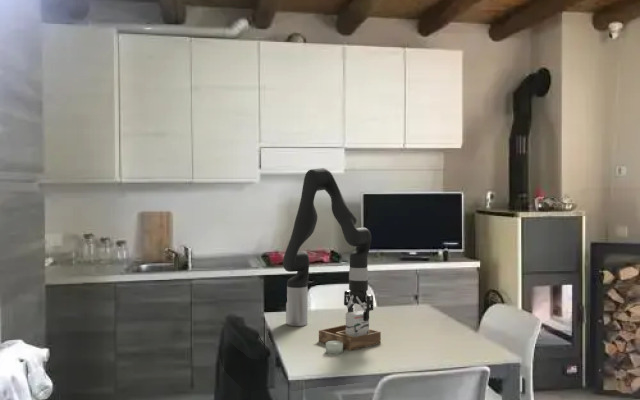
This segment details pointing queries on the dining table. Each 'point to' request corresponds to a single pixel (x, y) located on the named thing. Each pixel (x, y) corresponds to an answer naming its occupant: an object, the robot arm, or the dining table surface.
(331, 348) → the white domed round part
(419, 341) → the dining table surface
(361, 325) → the ink box
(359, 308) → the cup
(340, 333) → the organizer
